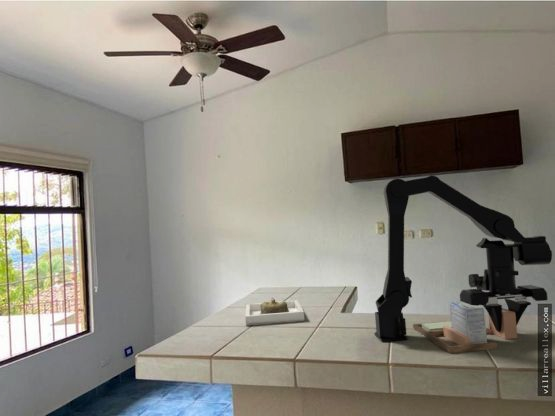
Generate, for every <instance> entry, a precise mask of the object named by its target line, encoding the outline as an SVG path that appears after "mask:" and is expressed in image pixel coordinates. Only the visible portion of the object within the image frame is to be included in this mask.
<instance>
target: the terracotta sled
mask: <svg viewBox="0 0 555 416" xmlns="http://www.w3.org/2000/svg"><path fill="white" fill-rule="evenodd" d="M488 322H489V323H488V325H489V328H486V335H487V334H493V335H496V336H498V337H499V338H502V339H505V340H509V339H510V340H511V339H512V340H513V339H517V338H518V331H517V329H518V327H517V326H516V316H515V312H513V311H510V310H508V308H507V309H506V308H504V307H502V324H501V332H498V331H496V329H495V326H494V324H493V322H492V320H491V318H490V315H489V314H488ZM443 331H444V335H443V337H445V338H446V339H448V340H450V341H452V342H453V343H454V344H456V345H457V346H458V345H469V344H471V343H470V338H469V337H467V336H466V335H464V334H462V333H460V332H458V331H456V330H454V329H453V328H451V327H449V326H443Z"/></svg>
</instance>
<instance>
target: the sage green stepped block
mask: <svg viewBox="0 0 555 416" xmlns="http://www.w3.org/2000/svg"><path fill="white" fill-rule="evenodd" d="M425 323H426V322H425ZM421 324H422V323H421ZM443 326H449V327H451V328H452V326H451V320H449V322H445V321H437V323H434V322H427V323H426V324H422V328H423V329H425V330H426V331H433V330H443Z"/></svg>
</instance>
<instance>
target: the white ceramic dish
mask: <svg viewBox="0 0 555 416" xmlns="http://www.w3.org/2000/svg"><path fill="white" fill-rule="evenodd" d="M284 301H285V302H286V303H287V306H288V310H289V312H284V313H272V314H260V313H261V307H260V305H261V304H262V303H263V302H259V303H247V304H245V305H246V306H245V307H246V308H245V319H244V320H245V326H246V327H247V326H248V327H249V326H250V327H251V326H258V325H259V326H260V325H271V324H283V323H295V322H305V311H304V310H303V308H302V306H301V304H300V302H299V300H296V299H295V300H284ZM277 302H278V303H280V302H281V301H277Z"/></svg>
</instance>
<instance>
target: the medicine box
mask: <svg viewBox="0 0 555 416" xmlns="http://www.w3.org/2000/svg"><path fill="white" fill-rule="evenodd" d="M449 313H450V321H451V326H452V328H453V329H454V330H456V331H458V332H460V333H462V334H464V335H466V336H467V337H469V338H470V343H471V344H480V343H488V339H487V338H488V337H487V334H486V329H487V326H486V319H485V318H486V317H485V307H484V306H481V305H470V304H467V303H464V302H462V301H460V300H458V301H453V302H450V303H449Z"/></svg>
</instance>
